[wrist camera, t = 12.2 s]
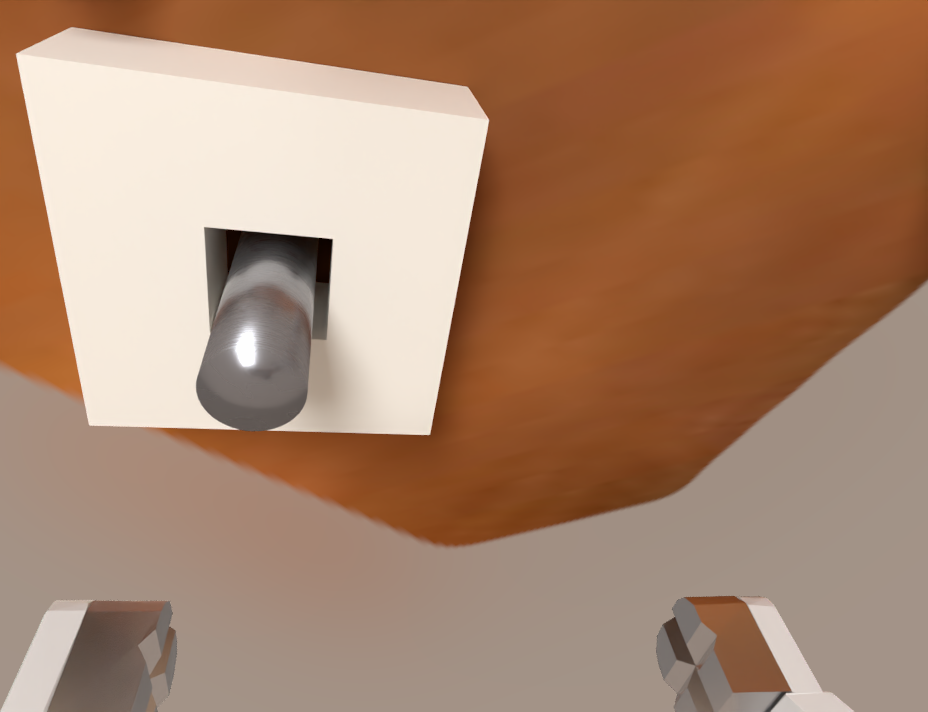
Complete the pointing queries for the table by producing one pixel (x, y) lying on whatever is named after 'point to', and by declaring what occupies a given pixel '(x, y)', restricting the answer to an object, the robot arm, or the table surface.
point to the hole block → (250, 218)
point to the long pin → (262, 334)
